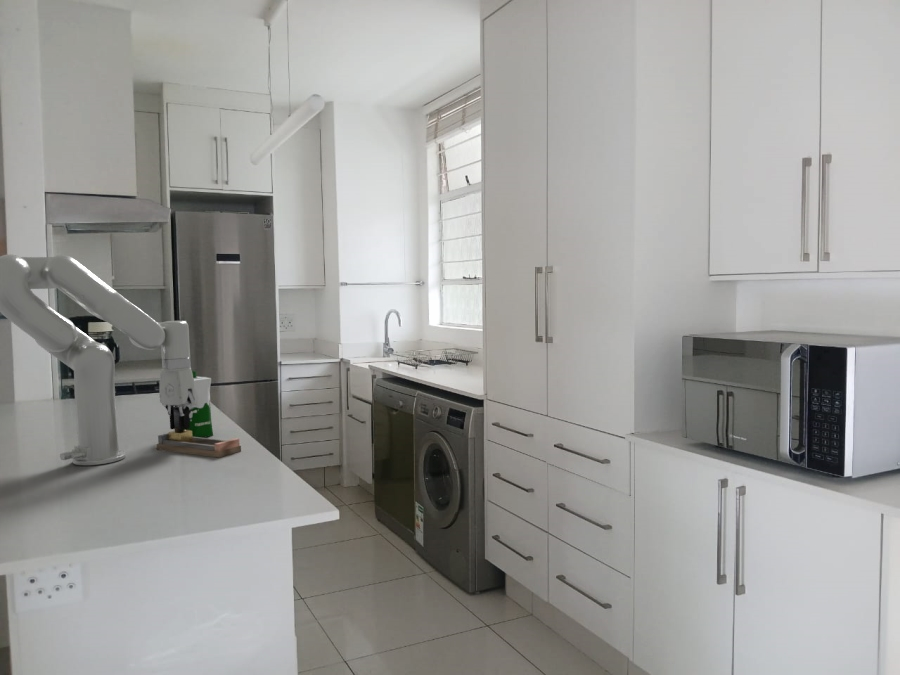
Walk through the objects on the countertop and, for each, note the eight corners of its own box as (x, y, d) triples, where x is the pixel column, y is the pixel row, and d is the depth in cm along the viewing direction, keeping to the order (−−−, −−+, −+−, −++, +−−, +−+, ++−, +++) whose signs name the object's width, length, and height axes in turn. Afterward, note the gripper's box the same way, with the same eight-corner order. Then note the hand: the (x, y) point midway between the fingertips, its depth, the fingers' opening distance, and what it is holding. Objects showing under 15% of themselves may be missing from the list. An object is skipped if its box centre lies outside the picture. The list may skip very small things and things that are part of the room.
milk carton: (200, 432, 219) (197, 369, 218) (217, 435, 214) (214, 371, 212) (175, 437, 212) (171, 372, 211) (192, 440, 207) (188, 374, 206)
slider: (181, 444, 194) (179, 408, 194) (169, 442, 197) (167, 407, 196) (192, 441, 198) (190, 406, 197) (180, 439, 200) (178, 405, 200)
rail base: (218, 457, 184) (217, 443, 184) (156, 449, 197) (155, 435, 196) (241, 451, 191) (240, 437, 191) (180, 443, 204) (179, 430, 203)
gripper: (146, 365, 197) (149, 429, 198) (185, 366, 188) (189, 433, 190) (168, 362, 203) (172, 424, 204) (207, 363, 195) (210, 428, 196)
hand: (180, 428), depth 197 cm, fingers closed on slider, 3 cm apart
